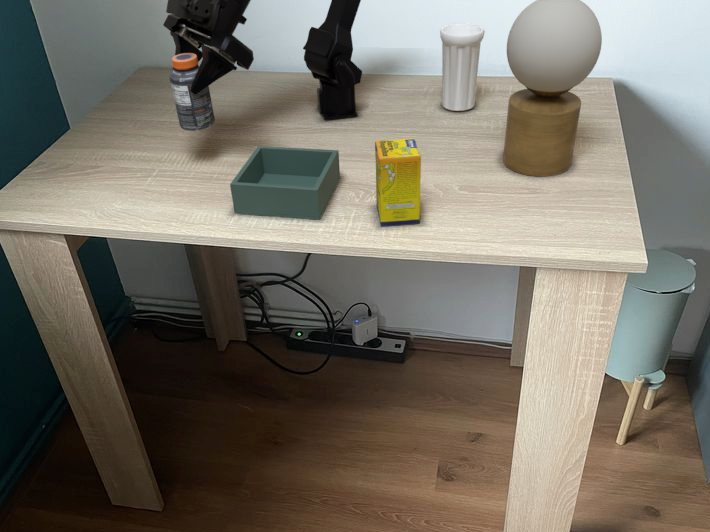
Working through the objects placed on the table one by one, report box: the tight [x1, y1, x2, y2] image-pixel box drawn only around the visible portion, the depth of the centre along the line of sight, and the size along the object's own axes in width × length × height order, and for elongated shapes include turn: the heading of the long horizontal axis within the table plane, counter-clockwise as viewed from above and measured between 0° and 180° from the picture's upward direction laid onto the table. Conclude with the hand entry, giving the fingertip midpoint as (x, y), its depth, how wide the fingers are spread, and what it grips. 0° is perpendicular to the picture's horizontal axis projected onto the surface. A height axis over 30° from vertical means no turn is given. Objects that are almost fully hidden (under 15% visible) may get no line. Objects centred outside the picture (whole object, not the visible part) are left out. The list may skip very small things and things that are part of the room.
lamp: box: [502, 0, 603, 177], centre depth 115 cm, size 15×14×25 cm
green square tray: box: [229, 145, 341, 221], centre depth 114 cm, size 14×14×5 cm
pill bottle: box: [169, 53, 216, 132], centre depth 119 cm, size 6×6×11 cm
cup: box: [439, 22, 486, 112], centre depth 137 cm, size 8×8×14 cm
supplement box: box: [374, 137, 422, 228], centre depth 106 cm, size 6×6×11 cm
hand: (182, 88), depth 117 cm, fingers closed on pill bottle, 6 cm apart
